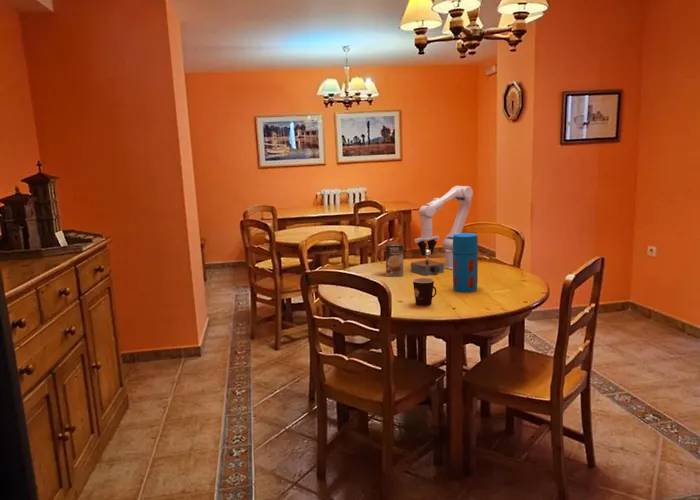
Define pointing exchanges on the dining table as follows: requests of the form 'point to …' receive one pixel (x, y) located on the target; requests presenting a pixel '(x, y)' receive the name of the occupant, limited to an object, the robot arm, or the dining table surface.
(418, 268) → the grey flat box
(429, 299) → the coffee mug
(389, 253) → the coffee box
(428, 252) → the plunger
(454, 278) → the thermos
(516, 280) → the dining table surface
